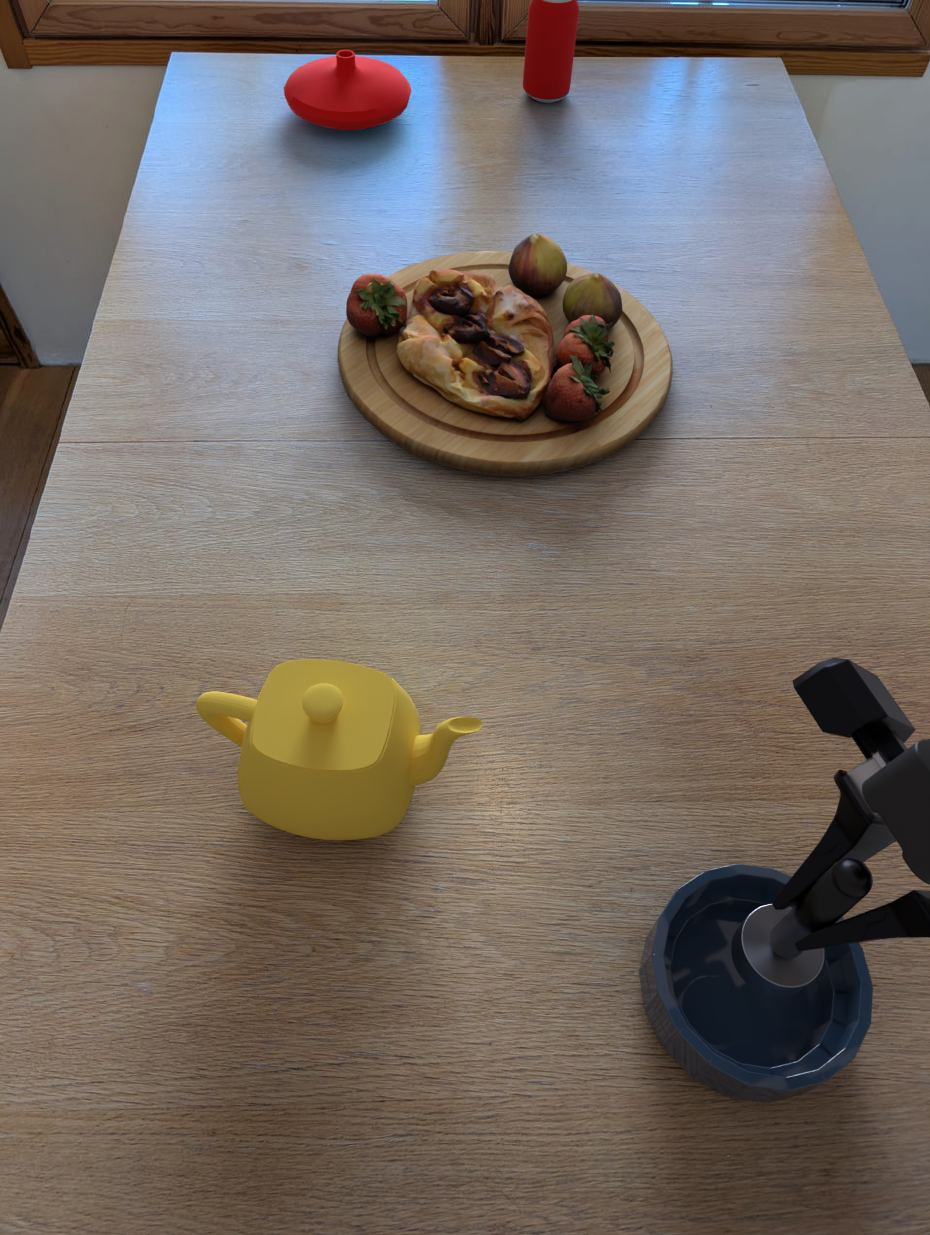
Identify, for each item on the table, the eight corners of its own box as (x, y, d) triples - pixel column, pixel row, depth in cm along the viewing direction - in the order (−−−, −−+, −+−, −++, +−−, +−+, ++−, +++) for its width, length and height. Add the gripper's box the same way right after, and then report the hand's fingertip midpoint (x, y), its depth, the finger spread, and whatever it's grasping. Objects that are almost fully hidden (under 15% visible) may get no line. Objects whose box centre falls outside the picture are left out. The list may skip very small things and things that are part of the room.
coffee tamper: (741, 904, 53) (819, 809, 43) (818, 936, 53) (916, 848, 42) (721, 976, 51) (798, 895, 41) (801, 1012, 50) (901, 938, 40)
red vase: (392, 154, 113) (390, 93, 107) (268, 134, 115) (260, 73, 109) (425, 94, 122) (425, 35, 116) (310, 76, 124) (304, 17, 118)
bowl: (848, 925, 60) (878, 899, 56) (833, 1137, 53) (865, 1125, 49) (658, 866, 62) (674, 837, 58) (618, 1063, 55) (633, 1046, 51)
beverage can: (573, 106, 122) (586, 2, 112) (526, 107, 121) (534, 3, 111) (563, 83, 125) (575, -19, 115) (518, 84, 124) (526, -18, 115)
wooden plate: (274, 413, 86) (261, 338, 79) (428, 237, 103) (428, 163, 96) (602, 531, 79) (618, 461, 72) (708, 321, 96) (729, 248, 89)
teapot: (485, 729, 67) (494, 646, 59) (463, 877, 61) (469, 807, 52) (241, 694, 68) (214, 607, 60) (194, 836, 62) (156, 761, 53)
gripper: (906, 543, 39) (621, 745, 45) (1265, 986, 29) (832, 1164, 35) (972, 607, 47) (723, 771, 53) (1271, 970, 37) (918, 1117, 43)
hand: (787, 926), depth 46 cm, fingers closed on coffee tamper, 2 cm apart
